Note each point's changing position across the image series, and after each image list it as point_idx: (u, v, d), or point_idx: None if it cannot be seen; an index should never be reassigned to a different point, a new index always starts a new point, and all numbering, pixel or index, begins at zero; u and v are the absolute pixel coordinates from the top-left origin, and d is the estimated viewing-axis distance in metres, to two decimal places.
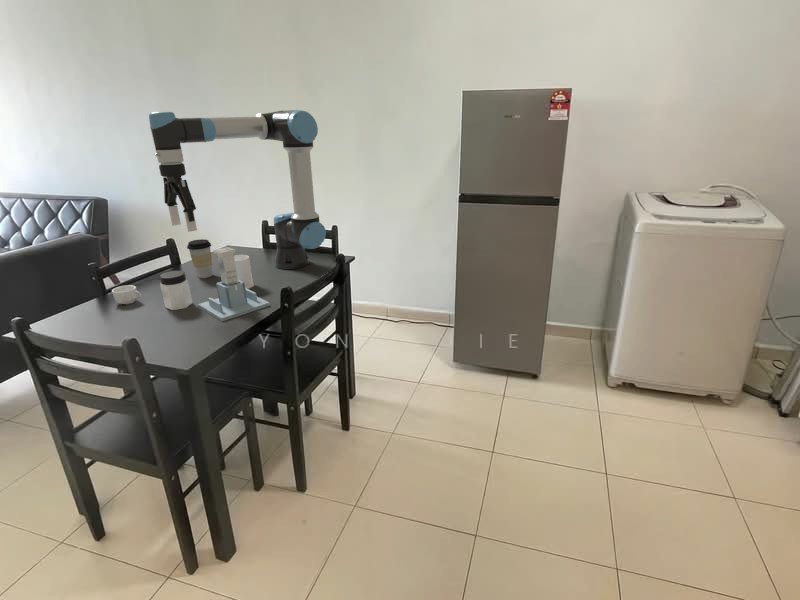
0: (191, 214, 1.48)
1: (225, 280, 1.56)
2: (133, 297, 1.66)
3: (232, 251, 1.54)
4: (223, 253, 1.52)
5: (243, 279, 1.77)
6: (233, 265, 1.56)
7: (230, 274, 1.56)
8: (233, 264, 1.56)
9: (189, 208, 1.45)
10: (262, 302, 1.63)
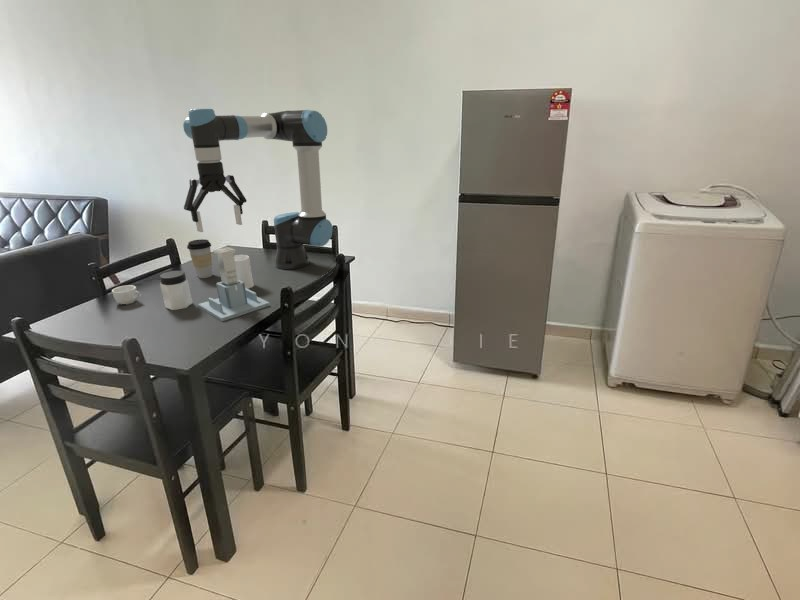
0: (192, 214, 1.44)
1: (225, 280, 1.56)
2: (133, 297, 1.66)
3: (232, 251, 1.54)
4: (223, 253, 1.52)
5: (243, 279, 1.77)
6: (233, 265, 1.56)
7: (230, 274, 1.56)
8: (233, 264, 1.56)
9: (184, 207, 1.42)
10: (262, 302, 1.63)
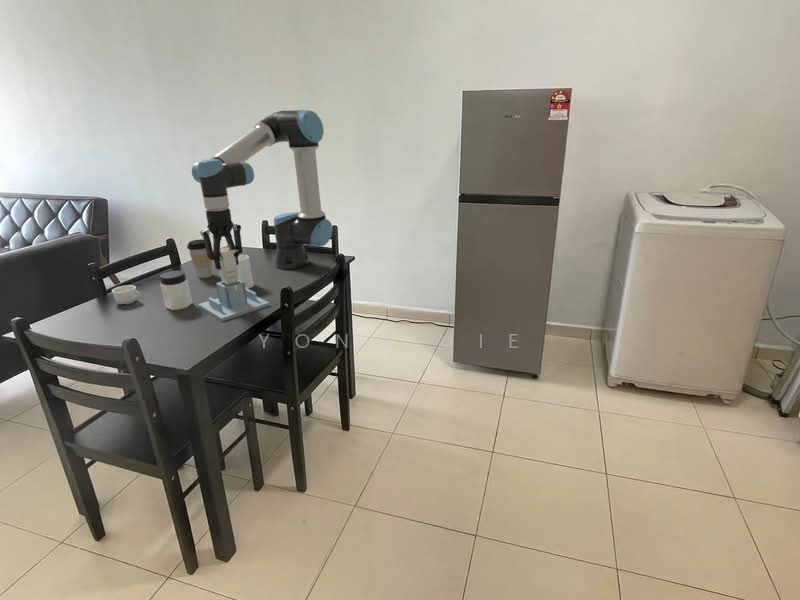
0: (215, 263, 1.53)
1: (225, 280, 1.56)
2: (133, 297, 1.66)
3: (232, 251, 1.54)
4: (223, 253, 1.52)
5: (243, 279, 1.77)
6: (233, 265, 1.56)
7: (230, 274, 1.56)
8: (233, 264, 1.56)
9: (208, 257, 1.52)
10: (262, 302, 1.63)
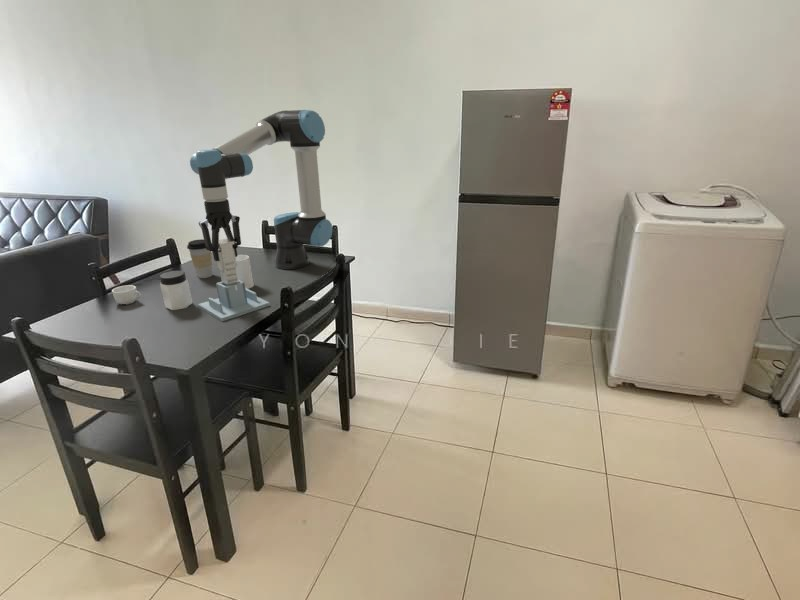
0: (214, 254, 1.52)
1: (224, 272, 1.55)
2: (133, 297, 1.66)
3: (231, 243, 1.53)
4: (222, 244, 1.51)
5: (243, 279, 1.77)
6: (232, 257, 1.55)
7: (229, 266, 1.55)
8: (232, 256, 1.55)
9: (206, 248, 1.51)
10: (262, 302, 1.63)
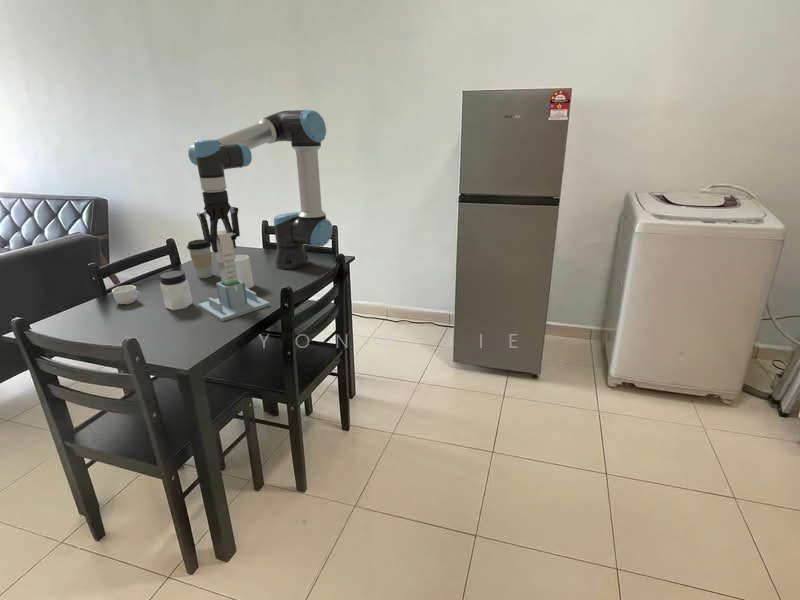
0: (212, 245, 1.51)
1: (222, 264, 1.54)
2: (133, 297, 1.66)
3: (229, 234, 1.52)
4: (220, 236, 1.49)
5: (243, 279, 1.77)
6: (230, 248, 1.54)
7: (227, 257, 1.54)
8: (230, 247, 1.54)
9: (205, 239, 1.49)
10: (262, 302, 1.63)
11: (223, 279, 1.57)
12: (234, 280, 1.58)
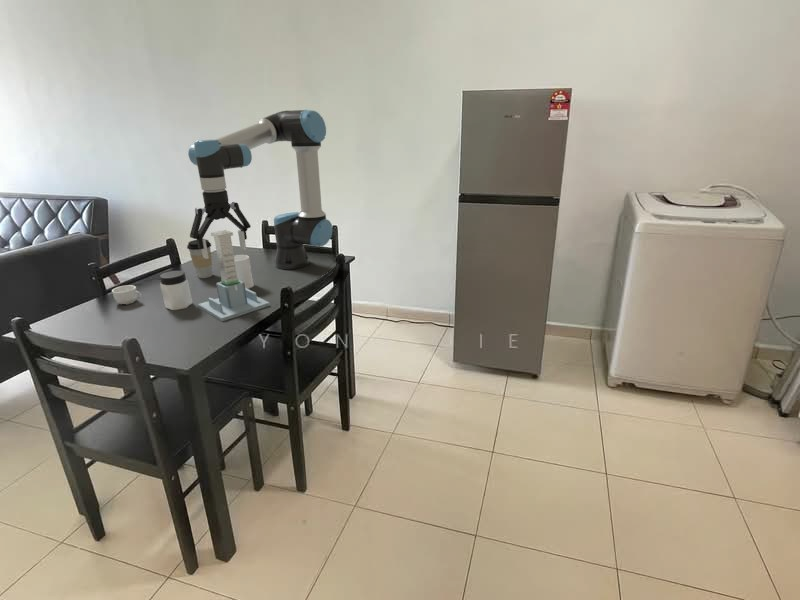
0: (198, 242, 1.47)
1: (222, 264, 1.54)
2: (133, 297, 1.66)
3: (229, 234, 1.52)
4: (220, 236, 1.49)
5: (243, 279, 1.77)
6: (230, 248, 1.54)
7: (227, 257, 1.54)
8: (230, 247, 1.54)
9: (190, 235, 1.46)
10: (262, 302, 1.63)
11: (223, 279, 1.57)
12: (234, 280, 1.58)
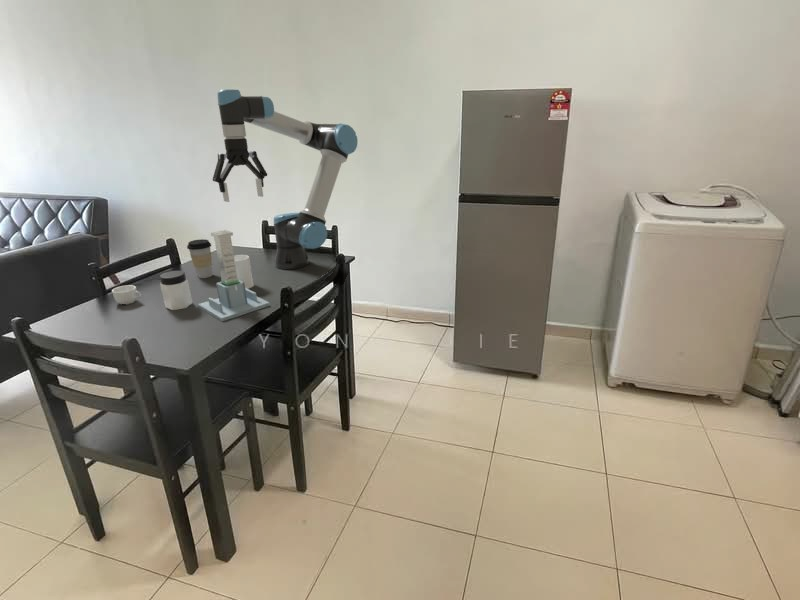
0: (220, 185, 1.60)
1: (222, 264, 1.54)
2: (133, 297, 1.66)
3: (229, 234, 1.52)
4: (220, 236, 1.49)
5: (243, 279, 1.77)
6: (230, 248, 1.54)
7: (227, 257, 1.54)
8: (230, 247, 1.54)
9: (213, 179, 1.58)
10: (262, 302, 1.63)
11: (223, 279, 1.57)
12: (234, 280, 1.58)
